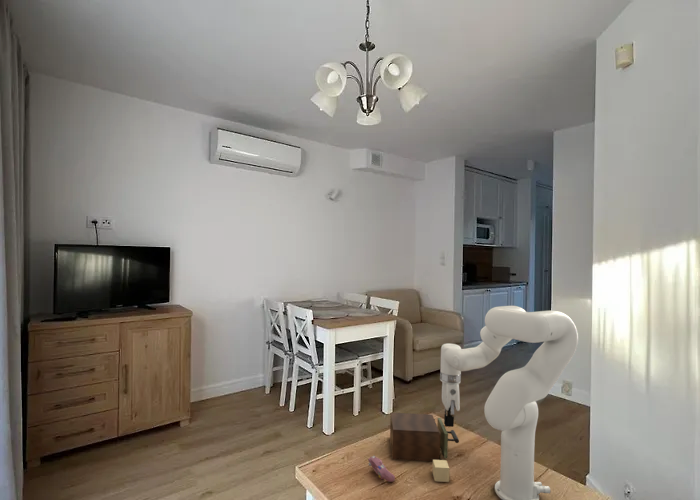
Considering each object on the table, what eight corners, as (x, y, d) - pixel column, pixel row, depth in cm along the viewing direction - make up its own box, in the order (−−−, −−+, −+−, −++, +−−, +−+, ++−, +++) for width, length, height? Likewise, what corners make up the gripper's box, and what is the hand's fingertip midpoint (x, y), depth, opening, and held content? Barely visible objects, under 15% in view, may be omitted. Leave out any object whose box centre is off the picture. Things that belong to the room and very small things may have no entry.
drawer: (452, 440, 145) (452, 418, 145) (460, 459, 132) (461, 434, 132) (400, 438, 146) (401, 415, 146) (404, 456, 133) (404, 431, 133)
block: (446, 473, 124) (446, 460, 124) (449, 482, 119) (449, 468, 120) (432, 473, 124) (432, 459, 124) (434, 481, 120) (435, 467, 120)
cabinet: (431, 441, 146) (432, 414, 146) (438, 461, 132) (439, 431, 132) (390, 439, 147) (390, 412, 147) (392, 459, 132) (393, 429, 133)
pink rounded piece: (371, 473, 126) (363, 456, 125) (381, 464, 128) (374, 448, 127) (386, 489, 117) (377, 472, 116) (397, 480, 119) (389, 463, 118)
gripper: (465, 384, 132) (464, 436, 131) (455, 371, 146) (454, 417, 146) (444, 383, 132) (442, 434, 132) (436, 370, 147) (435, 416, 147)
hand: (448, 425), depth 139 cm, fingers closed
